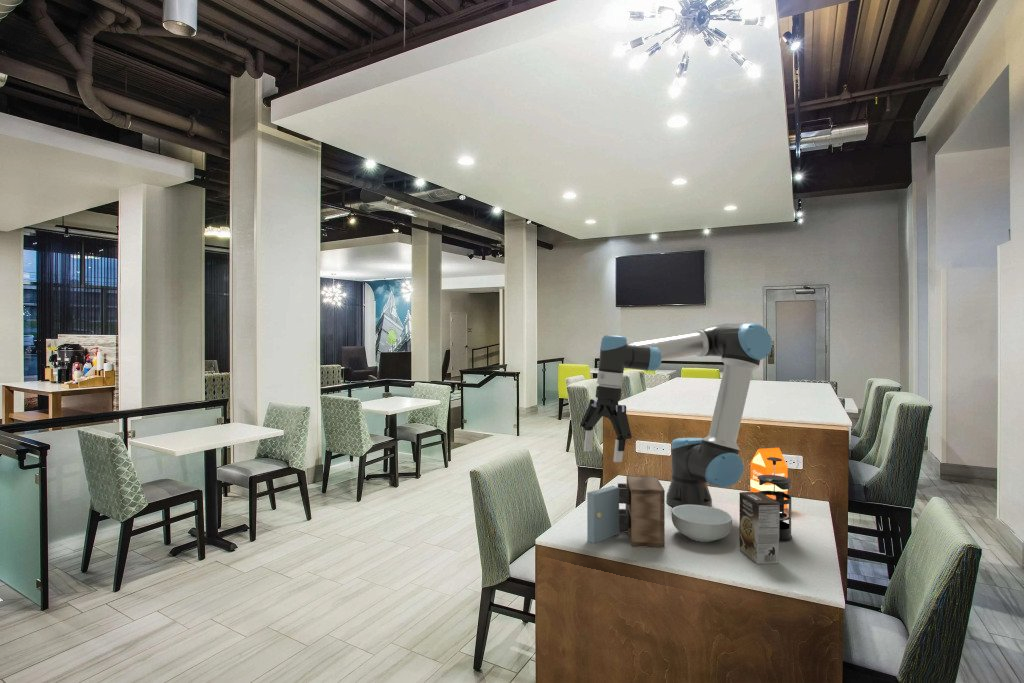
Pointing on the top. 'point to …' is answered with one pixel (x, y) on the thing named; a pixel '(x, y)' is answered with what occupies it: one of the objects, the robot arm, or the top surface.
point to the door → (602, 513)
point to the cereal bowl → (701, 522)
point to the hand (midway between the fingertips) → (602, 456)
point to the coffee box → (759, 527)
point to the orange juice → (767, 470)
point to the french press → (779, 499)
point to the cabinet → (643, 511)
